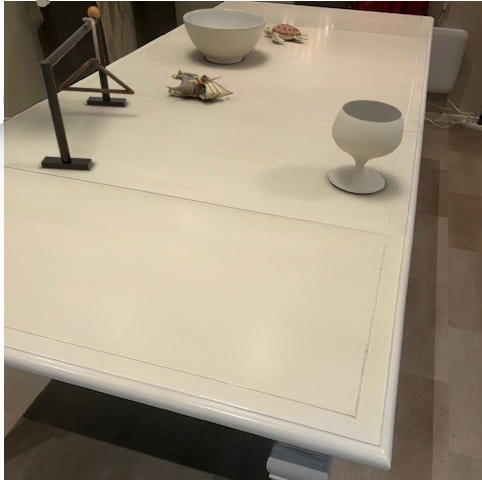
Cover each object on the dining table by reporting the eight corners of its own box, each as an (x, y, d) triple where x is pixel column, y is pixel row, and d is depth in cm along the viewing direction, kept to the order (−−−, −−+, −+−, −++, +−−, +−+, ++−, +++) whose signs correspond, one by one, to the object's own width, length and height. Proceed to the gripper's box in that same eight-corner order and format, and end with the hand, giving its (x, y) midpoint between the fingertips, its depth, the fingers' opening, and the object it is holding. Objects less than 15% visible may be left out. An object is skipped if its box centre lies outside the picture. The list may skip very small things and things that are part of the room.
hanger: (134, 95, 121) (126, 20, 109) (58, 91, 121) (42, 15, 109) (135, 93, 121) (127, 19, 110) (59, 89, 121) (44, 14, 110)
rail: (88, 170, 103) (69, 65, 89) (42, 167, 103) (14, 62, 89) (125, 104, 130) (114, 17, 116) (88, 102, 130) (73, 14, 116)
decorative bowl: (256, 47, 175) (258, 8, 167) (269, 71, 156) (272, 29, 148) (182, 46, 172) (181, 7, 164) (186, 71, 153) (185, 28, 144)
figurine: (196, 62, 143) (246, 74, 137) (196, 83, 146) (244, 96, 141) (155, 75, 129) (208, 89, 123) (155, 99, 133) (207, 113, 127)
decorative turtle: (268, 30, 193) (269, 16, 189) (309, 35, 190) (311, 21, 187) (258, 42, 180) (258, 27, 176) (301, 47, 177) (303, 32, 174)
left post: (124, 106, 129) (112, 8, 114) (87, 104, 129) (70, 6, 114) (126, 102, 131) (115, 6, 116) (90, 100, 131) (73, 3, 116)
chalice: (319, 190, 100) (331, 118, 90) (328, 161, 110) (340, 94, 100) (387, 202, 98) (407, 129, 88) (390, 171, 108) (409, 103, 98)
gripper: (30, -81, 103) (45, -6, 113) (-10, -71, 88) (12, 15, 98) (59, -79, 103) (72, -4, 113) (25, -69, 88) (43, 17, 98)
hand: (44, 5), depth 105 cm, fingers closed
